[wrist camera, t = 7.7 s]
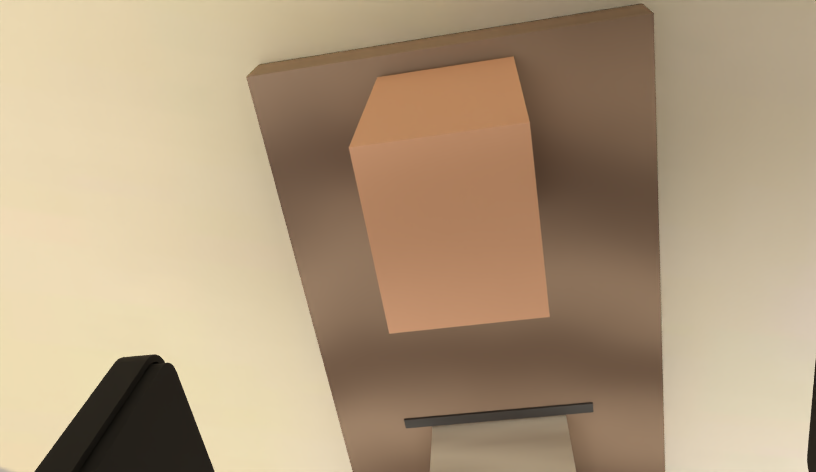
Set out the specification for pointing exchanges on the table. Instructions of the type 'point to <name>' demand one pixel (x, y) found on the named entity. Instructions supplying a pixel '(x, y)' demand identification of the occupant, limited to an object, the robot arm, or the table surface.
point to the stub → (451, 197)
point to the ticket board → (562, 248)
